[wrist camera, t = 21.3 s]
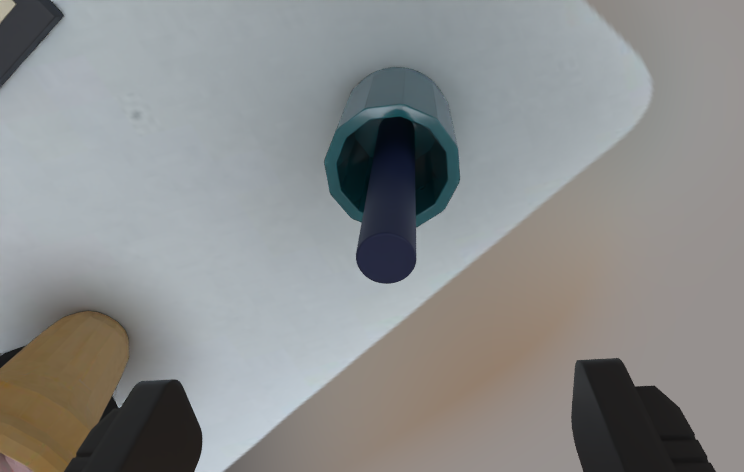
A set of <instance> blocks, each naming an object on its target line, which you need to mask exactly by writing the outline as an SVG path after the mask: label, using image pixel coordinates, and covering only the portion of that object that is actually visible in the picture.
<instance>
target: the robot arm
mask: <svg viewBox="0 0 744 472" xmlns="http://www.w3.org/2000/svg"><path fill="white" fill-rule="evenodd" d="M574 375H575V376H574V387H573V401H572V416H571V418H572V430H573V437H574V441H575V446H576V450H577V453H578V456H579V459H580V462H581V465H582V468H583V472H716V471H715V470H714V468H713V466H712V464H711V463H709V462H708V460H707V455H706V454H705V452H704V450H703V449H702V447H701V445H700V443H699V441H698V440H696V439H695V436H694V435H695V434H694V432H693V431H692V429H691V427H690V425H689V424H688V422H687V420H686V418H685V417H684V415H683V413H682V411H681V410H680V408H679V407H678V406H677V405H676V404H675V403H674V402H672V401H671V400H670V399H669V398H668V397H667V396H666V395H665V394H663V393H662V392H661V391H660V390H659V389H658V388H656V387H655V386H640V387H639V386H638V387H635V386H634V384H633V382H632V380H631V378H630V376H629V373H628V372H627V369H626V367H625V366H624V364H623V362H622V361H621V360H620V359H619V358H613V359H593V360H577V362H576V365H575V374H574ZM201 450H202V432H201V428H200V425H199V423H198V421H197V418H196V416H195V414H194V411H193V409H192V407H191V405H190V402H189V400H188V398H187V395H186V393H185V391H184V388H183V386H182V384H181V383H180V382H179V381H178V380H157V381H141V382H139V383H137V384H136V385H135V386H134V388H133V389H132V391H131V392H130V394H129V395H128V397H127V399H126V400H125V402H124V403H123V405H122V407H121V408H114V409H113V410H112V411H111V412H110V413H109V414H107V415H106V416H105V417H104V418H103V419H102V420H101V421H100V422H99V423H98V424H97V425H96V426H94V427H93V428H92V429H91V431H90V432H89V434H88V435H87V437H86V438H85V440H84V441H83V443H82V445H81V446H80V448H79V449H78V451H77V452H76V457H75V458H72V460H71V461H70V463H69V464H68V466H67V467H66V469H65V471H64V472H194V471H195V468H196V466H197V463H198V461H199V458H200V455H201Z"/></svg>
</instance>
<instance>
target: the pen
mask: <svg viewBox="0 0 744 472" xmlns="http://www.w3.org/2000/svg"><path fill="white" fill-rule="evenodd" d="M356 261H357V265H358V267H359V269H360V270H361V272H362V273H363V274H364V275H365V276H366V277H368V278H369V279H371V280H373V281H375V282H378V283H385V284H387V283H395V282H398V281H401V280H403V279H404V278H406V277H407V276H408V275H409V274H410V273H411V272H412V270H413V269H414V267H415V264H416V201H415V130H414V126H413V123H412V122H411V121H410V120H408V119H405V118H403V117H392V118H385V119H383V121H382V122H381V123H380V126H379V129H378V135H377V140H376V146H375V152H374V157H373V163H372V168H371V174H370V180H369V185H368V191H367V196H366V202H365V207H364V213H363V219H362V224H361V230H360V235H359V241H358V247H357V252H356Z"/></svg>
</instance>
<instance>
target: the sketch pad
mask: <svg viewBox="0 0 744 472" xmlns="http://www.w3.org/2000/svg"><path fill="white" fill-rule="evenodd" d="M62 17H63V14H62V13H61V12H60V11H59V10H58V9H57V8H56V7H55V6H54V4H53V3H52V2H51V1H50V0H0V87H1V85H2V84H3V83H4V82H5V81H6V80H7V79H8V78H9V76H10V75H11V74H12V73H13V72H14V71H15V70H16V69H17V67H18V66H19V65H20V64H21V63H22V62H23V61H24V60H25V58H26V57H27V56H28V55H29V54H30V53H31V52H32V51H33V50H34V48H35V47H36V46H37V45H38V44H39V43H40V42H41V41H42V39H43V38H44V37H45V36H46V35H47V34H48V33H49V32H50V30H51V29H52V28H53V27H54V26H55V25H56V24H57V23H58V21H59V20H60V19H61V18H62Z"/></svg>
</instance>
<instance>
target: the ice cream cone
mask: <svg viewBox="0 0 744 472" xmlns="http://www.w3.org/2000/svg"><path fill="white" fill-rule="evenodd" d="M128 359H129V339H128V336H127V334H126V331H125V330H124V328H123V327H122V326H121V325H120V324H119V323H118V322H117V321H115V320H114V319H112V318H111V317H109V316H107V315H104V314H102V313H99V312H92V311H84V312H78V313H75V314H72V315H69V316H66V317H63V318H62V319H60V320H59V321H57V322H55V323H54V324H53V325H51V326H50V327H49V328H47V329H46V330H45V331H43V332H42V333H41V334H40V335H38V336H37V337H36V338H35V339H34V340H33V341H31V342H30V343H29V344H28V345H27V346H26V347H24V348H23V349H22V350H21V351H20V352H19V353H17V354H16V355H15V356H14V357H13V358H12V359H11V360H9V361H8V362H7V363H6V364H5V365H4V366H3V367H1V368H0V472H64V471H65V469H66V467H67V466H68V464H69V463H70V461H71V460H72V458H75V457H76V452H77V451H78V449H79V448H80V446H81V445H82V443H83V441H84V440H85V438H86V437H87V435H88V434H89V432H90V431H91V429H92V428H93V427H94V426H96V425H97V424H98V423H99V420H100V418H101V416H102V414H103V412H104V410H105V408H106V406H107V404H108V402H109V400H110V398H111V397H112V395H113V393H114V391H115V389H116V387H117V385H118V383H119V381H120V378H121V376H122V374H123V371H124V369H125V366H126V364H127V362H128Z"/></svg>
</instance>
